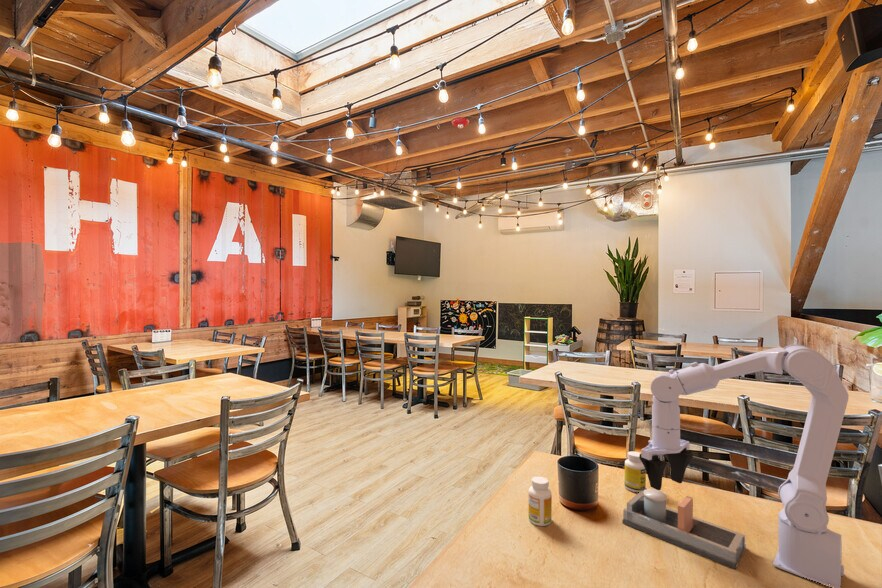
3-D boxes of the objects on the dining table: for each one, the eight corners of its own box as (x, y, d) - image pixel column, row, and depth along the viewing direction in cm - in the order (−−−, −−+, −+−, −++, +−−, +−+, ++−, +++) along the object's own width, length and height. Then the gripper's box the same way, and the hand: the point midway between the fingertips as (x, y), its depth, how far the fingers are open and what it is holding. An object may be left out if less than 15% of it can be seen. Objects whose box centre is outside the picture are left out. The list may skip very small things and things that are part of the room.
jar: (669, 521, 95) (669, 493, 95) (662, 529, 91) (662, 500, 91) (647, 513, 98) (647, 486, 98) (640, 521, 95) (640, 493, 95)
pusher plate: (692, 527, 92) (692, 497, 92) (683, 538, 87) (683, 507, 87) (686, 525, 93) (686, 495, 93) (677, 536, 88) (677, 505, 88)
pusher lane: (745, 548, 86) (745, 524, 86) (735, 569, 79) (735, 543, 79) (638, 508, 102) (638, 488, 102) (622, 523, 95) (622, 502, 95)
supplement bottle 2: (643, 495, 109) (643, 459, 109) (622, 489, 112) (622, 454, 113) (647, 487, 113) (647, 453, 114) (626, 482, 117) (626, 448, 117)
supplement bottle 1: (549, 515, 99) (549, 475, 99) (553, 527, 93) (553, 485, 93) (527, 513, 99) (527, 474, 99) (529, 526, 94) (530, 484, 94)
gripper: (669, 417, 100) (669, 472, 100) (629, 425, 94) (629, 484, 93) (698, 425, 94) (698, 483, 94) (657, 434, 87) (657, 497, 87)
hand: (666, 484), depth 93 cm, fingers open, 7 cm apart
